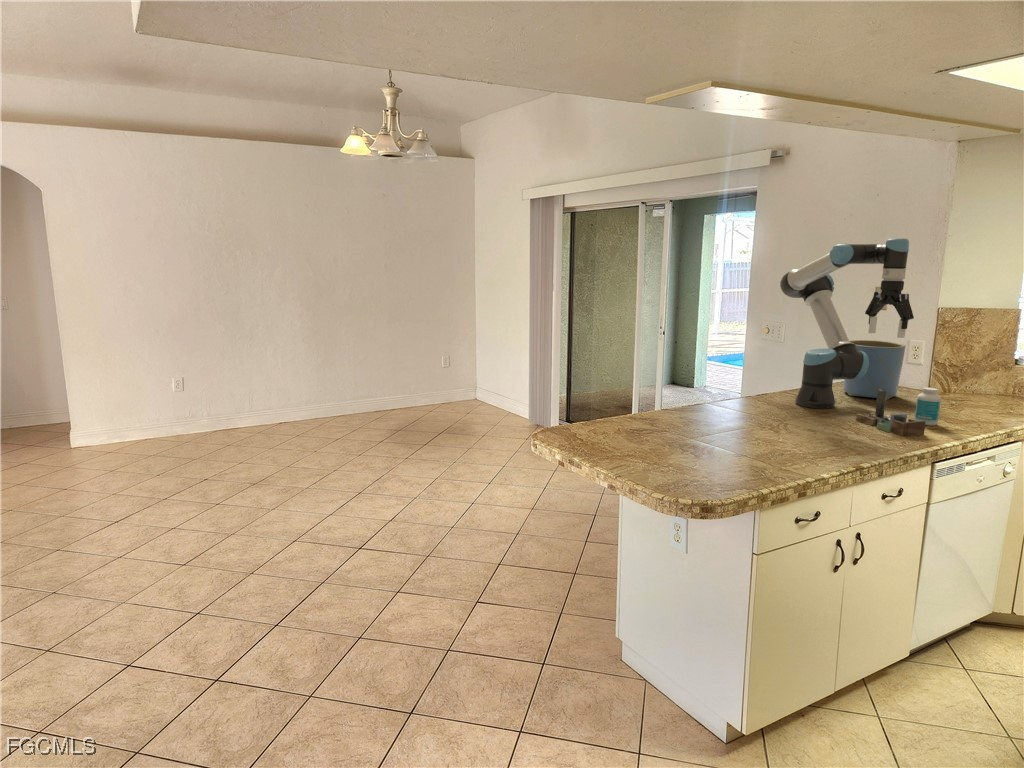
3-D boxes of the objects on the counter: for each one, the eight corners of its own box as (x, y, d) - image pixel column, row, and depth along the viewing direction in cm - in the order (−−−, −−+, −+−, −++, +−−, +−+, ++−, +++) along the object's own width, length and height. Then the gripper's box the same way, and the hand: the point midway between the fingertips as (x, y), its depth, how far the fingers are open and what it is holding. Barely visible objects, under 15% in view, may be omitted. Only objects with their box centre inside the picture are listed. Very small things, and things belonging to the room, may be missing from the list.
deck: (876, 428, 229) (877, 423, 229) (898, 426, 232) (899, 421, 231) (889, 432, 224) (889, 426, 224) (911, 430, 227) (912, 425, 226)
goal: (891, 432, 224) (892, 418, 223) (909, 430, 226) (911, 417, 225) (905, 436, 219) (906, 422, 218) (923, 434, 221) (925, 421, 220)
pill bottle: (940, 426, 231) (946, 391, 228) (918, 425, 233) (923, 390, 230) (931, 421, 238) (936, 387, 236) (910, 420, 240) (915, 386, 237)
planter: (897, 403, 267) (904, 349, 262) (838, 396, 279) (844, 344, 274) (899, 393, 286) (906, 342, 281) (843, 387, 298) (849, 338, 293)
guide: (855, 419, 240) (856, 413, 240) (870, 418, 242) (871, 412, 242) (872, 425, 233) (873, 419, 232) (887, 424, 235) (888, 417, 234)
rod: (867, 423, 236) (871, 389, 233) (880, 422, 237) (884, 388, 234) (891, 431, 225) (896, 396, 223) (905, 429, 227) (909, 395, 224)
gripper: (859, 278, 249) (853, 331, 253) (913, 281, 225) (905, 339, 229) (874, 278, 251) (868, 331, 255) (929, 281, 227) (921, 339, 231)
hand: (885, 335), depth 242 cm, fingers open, 13 cm apart
